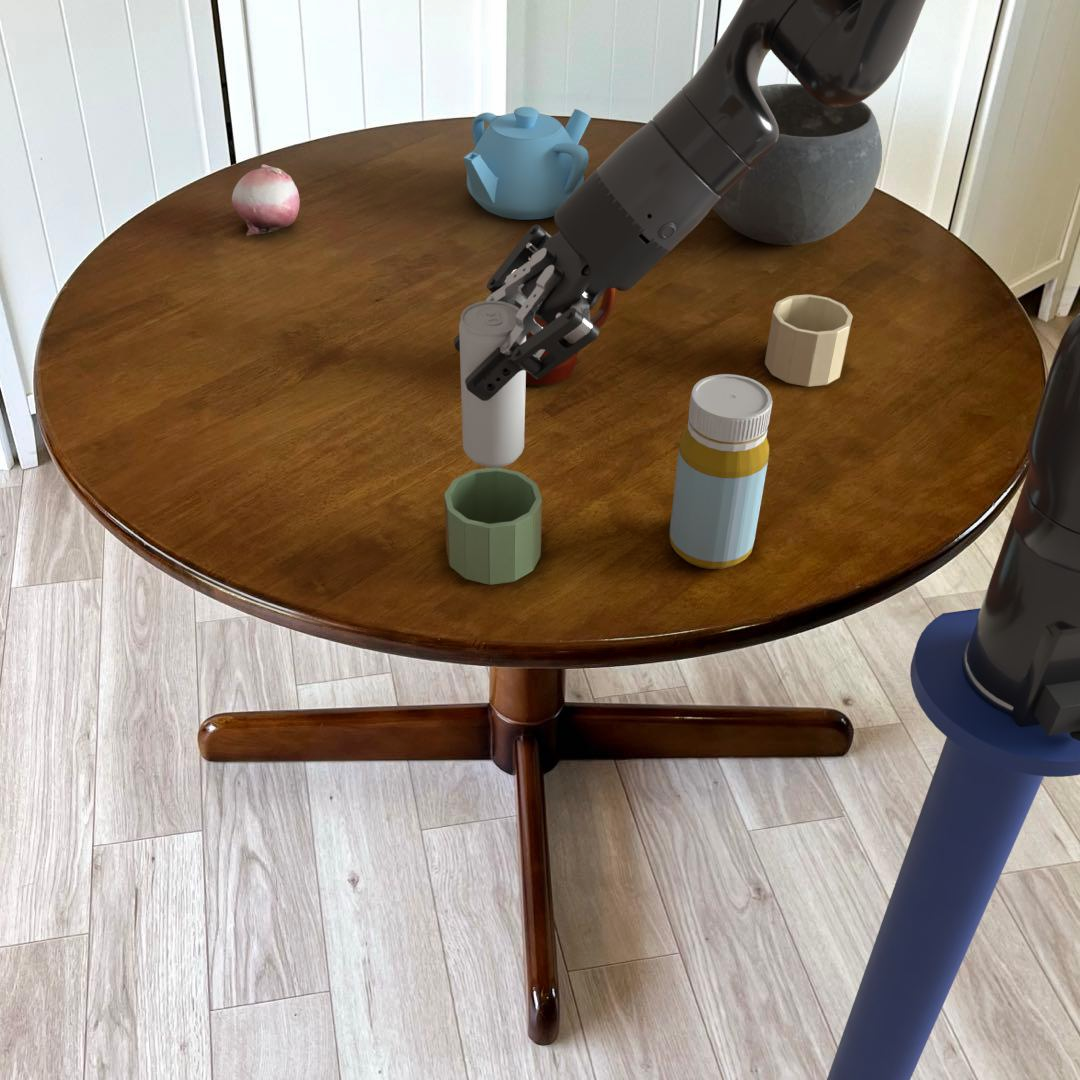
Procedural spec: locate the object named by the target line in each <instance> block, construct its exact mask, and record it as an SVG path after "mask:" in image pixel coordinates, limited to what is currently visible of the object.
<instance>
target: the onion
mask: <svg viewBox="0 0 1080 1080" xmlns="http://www.w3.org/2000/svg"><path fill="white" fill-rule="evenodd" d="M297 187H298V186H297V185H296V184H295V182H294V180H293V178H292V177H291V175H289V174H288V173H286V172H285V171H284V170H282V169H281V168H278V167H274V166H270V165H267V164H264V163H262V164H261V165H260V167H259V168H256V169H253V170H251V171H249V172H247V173H246V174H244V175H243V176H242V177H241V178H240V179H239V180H238V182H237V183H236V185H235V186H234V188H233V190H232V191H233V192H232V196H231V203H232V206H233V209H235V210H236V212H237V214H238V215H239V216H240V217H241V218H242V219H243V220H244V222H245V223H246V225H247V228H248V230H247V231H246V236H247V237H248V236H251V235H257V234H267V233H272V232H276V231H279V230H281V229H282V228H286V227H290V226H291V225H293V224H294V223H295V221H296V220H297V217H298V214H299V211H300V204H301V203H300V202H301V201H300V195H299V190H298V188H297Z"/></svg>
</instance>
